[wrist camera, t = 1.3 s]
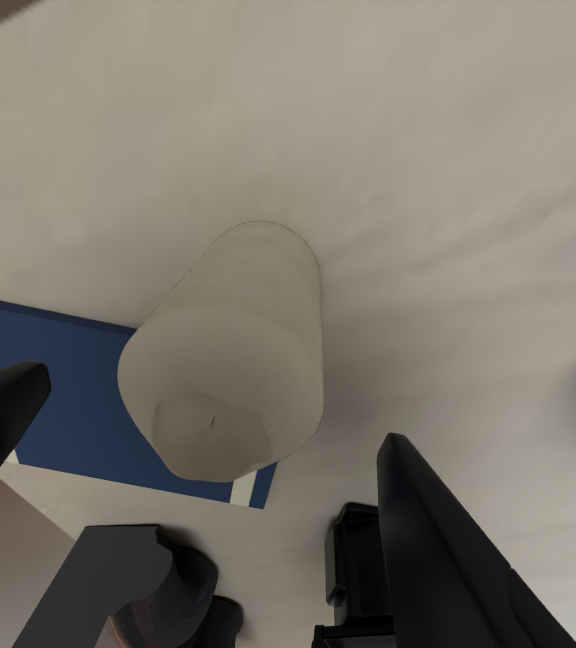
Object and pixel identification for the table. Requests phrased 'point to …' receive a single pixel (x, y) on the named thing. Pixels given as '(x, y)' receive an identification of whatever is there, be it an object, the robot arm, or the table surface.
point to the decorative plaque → (131, 597)
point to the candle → (231, 358)
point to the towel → (96, 409)
